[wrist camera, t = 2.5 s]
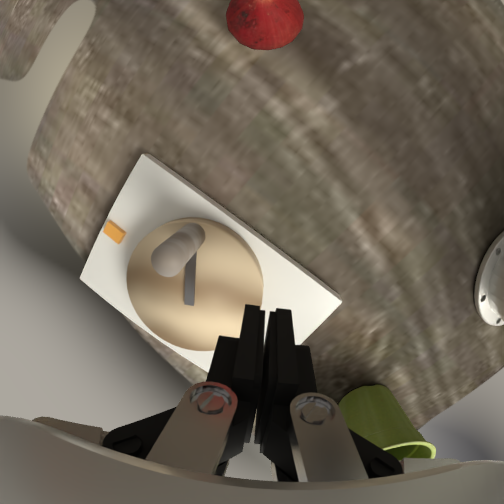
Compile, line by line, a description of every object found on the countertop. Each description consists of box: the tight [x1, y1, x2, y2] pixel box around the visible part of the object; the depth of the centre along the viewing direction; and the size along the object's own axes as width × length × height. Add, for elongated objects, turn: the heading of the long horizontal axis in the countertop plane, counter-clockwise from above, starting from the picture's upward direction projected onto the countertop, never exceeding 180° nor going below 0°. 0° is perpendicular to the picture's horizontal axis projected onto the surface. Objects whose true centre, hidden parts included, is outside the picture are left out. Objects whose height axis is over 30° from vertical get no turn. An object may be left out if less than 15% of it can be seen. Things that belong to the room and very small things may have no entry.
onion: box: [226, 0, 304, 50], centre depth 17 cm, size 6×6×8 cm
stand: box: [80, 154, 342, 372], centre depth 27 cm, size 22×15×2 cm
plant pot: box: [339, 385, 436, 461], centre depth 26 cm, size 12×12×11 cm
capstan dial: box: [126, 217, 264, 351], centre depth 22 cm, size 12×12×8 cm
